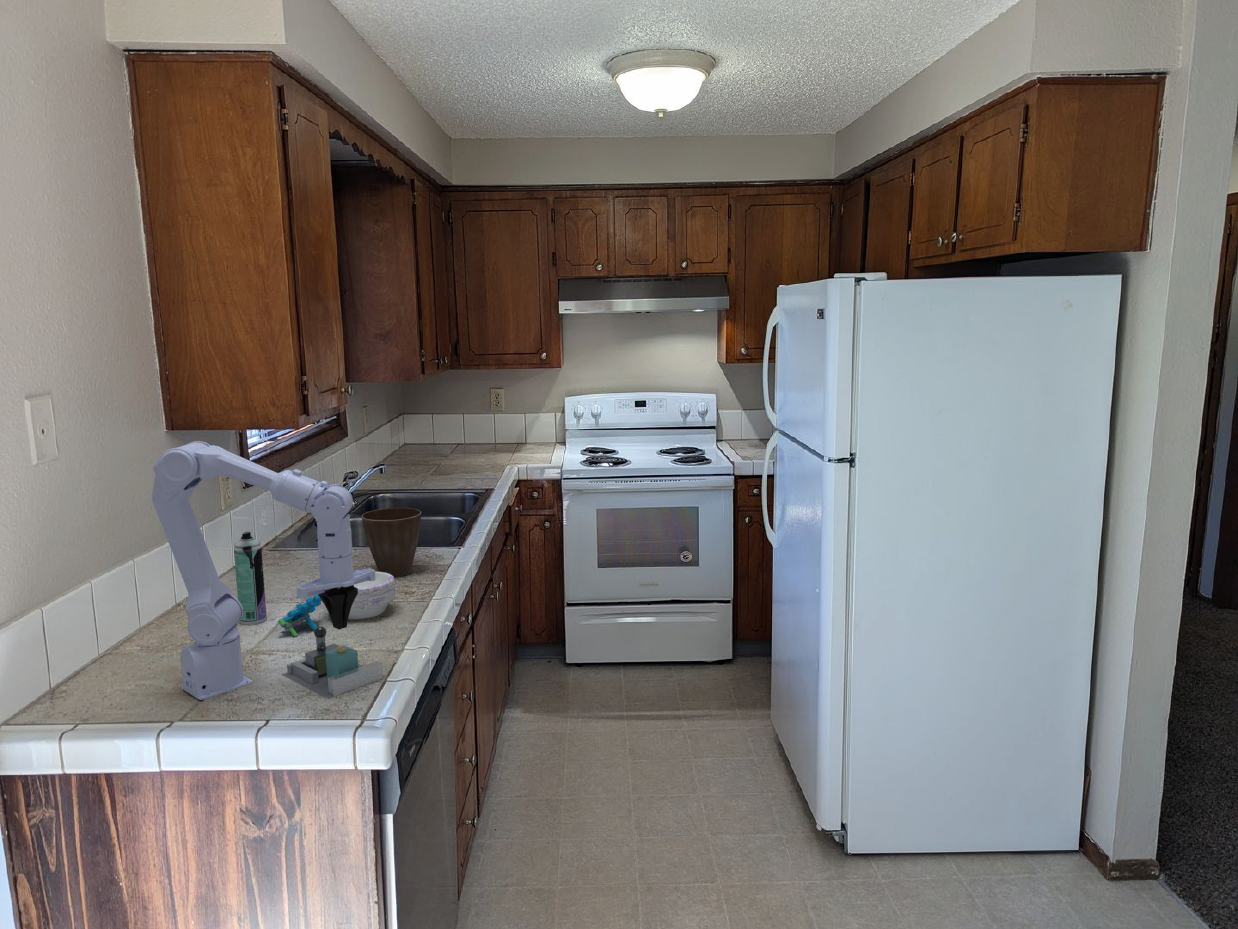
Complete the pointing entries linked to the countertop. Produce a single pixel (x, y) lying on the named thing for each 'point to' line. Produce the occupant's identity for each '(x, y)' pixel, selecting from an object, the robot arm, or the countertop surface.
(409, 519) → the plant pot
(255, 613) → the spray can
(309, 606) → the blue toy water gun
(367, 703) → the countertop surface
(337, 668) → the block
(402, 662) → the countertop surface
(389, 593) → the paper bowls
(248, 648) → the countertop surface
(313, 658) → the block
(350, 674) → the base
